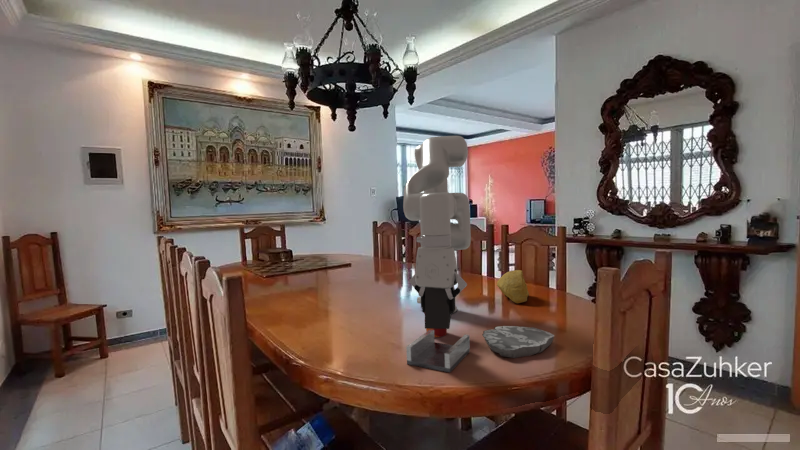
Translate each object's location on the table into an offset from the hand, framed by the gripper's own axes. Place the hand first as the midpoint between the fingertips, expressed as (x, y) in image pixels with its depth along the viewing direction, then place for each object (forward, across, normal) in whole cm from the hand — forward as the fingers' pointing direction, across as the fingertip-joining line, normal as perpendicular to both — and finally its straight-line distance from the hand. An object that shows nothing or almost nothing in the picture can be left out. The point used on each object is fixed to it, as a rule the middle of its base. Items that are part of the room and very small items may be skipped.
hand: (438, 311), depth 100 cm
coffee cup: (+12, -8, +16) cm, 22 cm away
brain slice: (+13, +15, +16) cm, 25 cm away
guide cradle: (+12, 0, 0) cm, 12 cm away
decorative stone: (+12, +4, +65) cm, 66 cm away
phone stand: (+3, 0, 0) cm, 3 cm away
